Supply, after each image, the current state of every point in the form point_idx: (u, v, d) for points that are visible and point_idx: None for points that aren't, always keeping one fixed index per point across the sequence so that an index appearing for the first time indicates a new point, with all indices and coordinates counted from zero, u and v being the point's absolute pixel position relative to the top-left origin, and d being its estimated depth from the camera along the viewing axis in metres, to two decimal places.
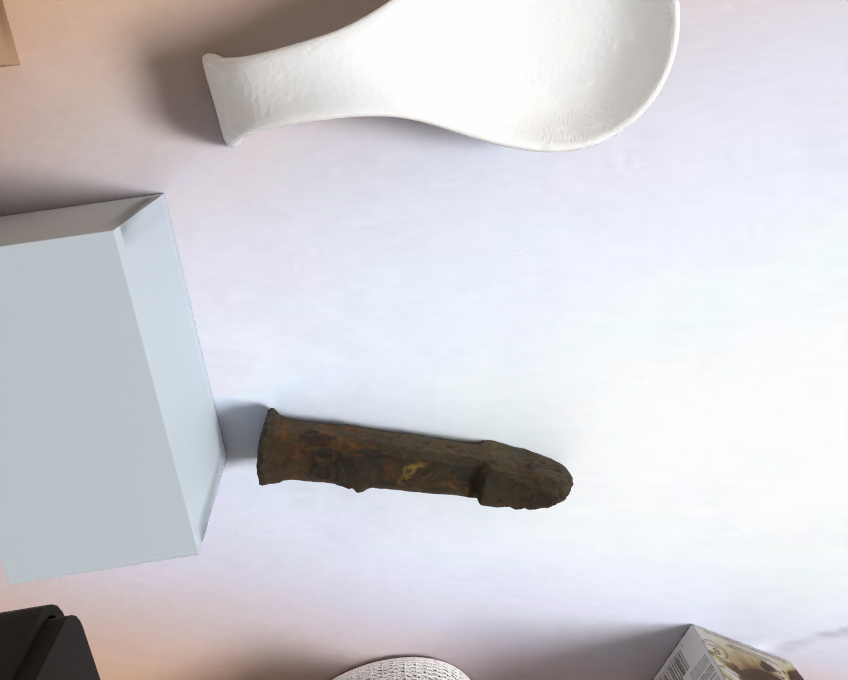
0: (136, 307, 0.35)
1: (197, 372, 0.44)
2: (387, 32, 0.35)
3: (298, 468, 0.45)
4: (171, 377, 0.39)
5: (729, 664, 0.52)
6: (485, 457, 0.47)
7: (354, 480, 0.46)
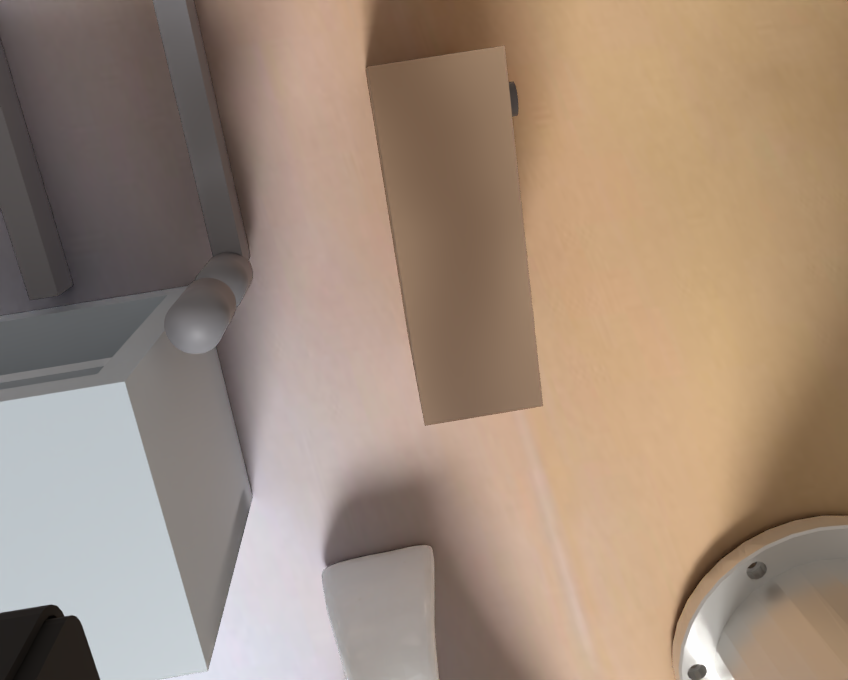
0: None
1: None
2: None
3: None
4: None
5: None
6: None
7: None
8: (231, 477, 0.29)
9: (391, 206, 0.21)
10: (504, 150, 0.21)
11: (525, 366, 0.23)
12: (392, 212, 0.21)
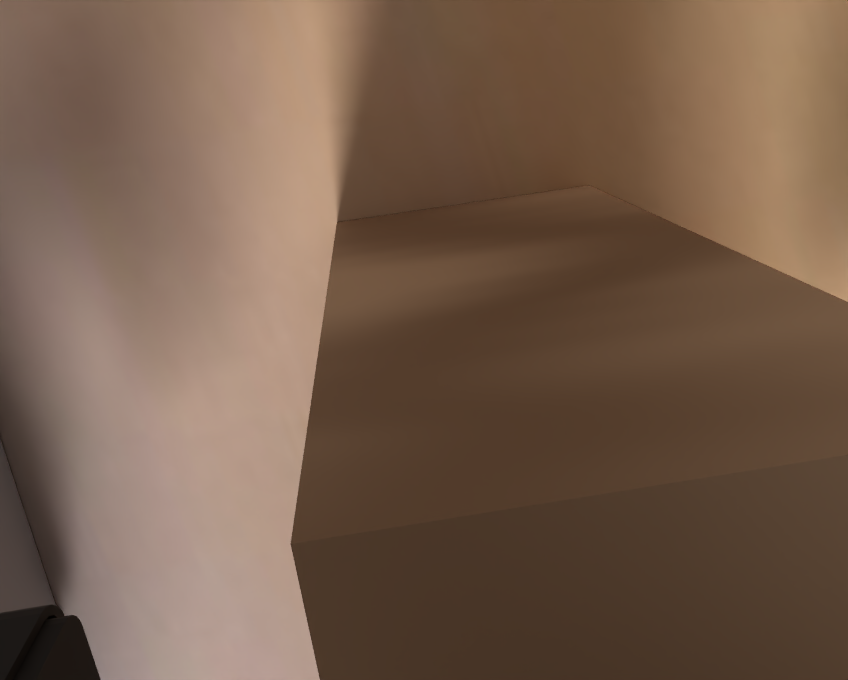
0: None
1: None
2: None
3: None
4: None
5: None
6: None
7: None
8: None
9: None
10: None
11: None
12: None
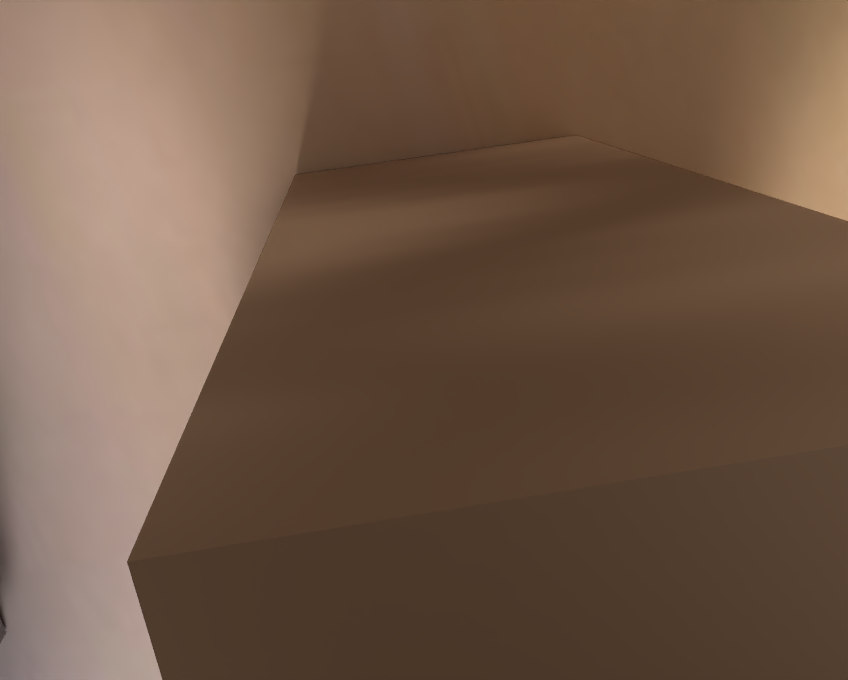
0: None
1: None
2: None
3: None
4: None
5: None
6: None
7: None
8: None
9: None
10: None
11: None
12: None
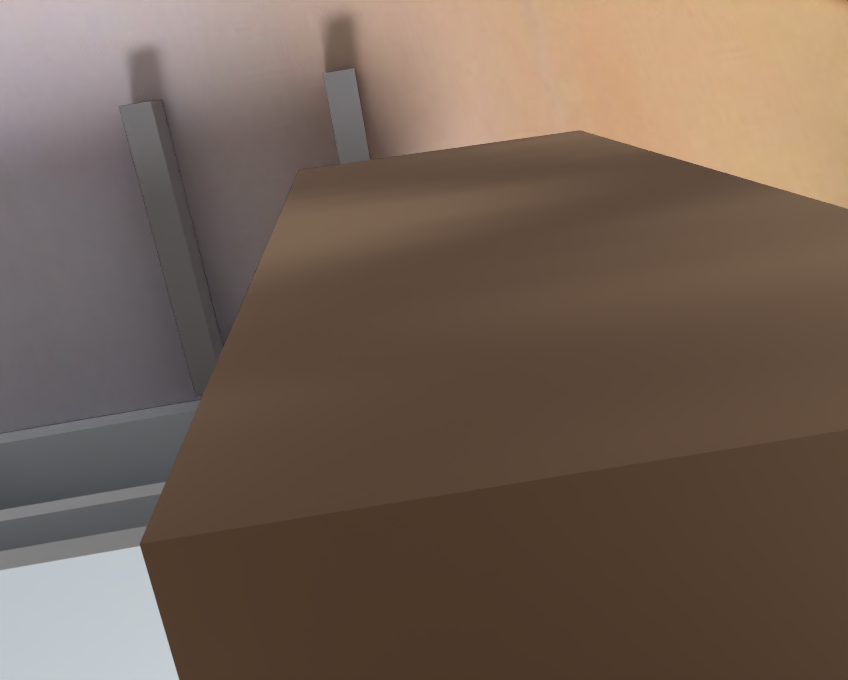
0: None
1: None
2: None
3: None
4: None
5: None
6: None
7: None
8: None
9: None
10: None
11: None
12: None
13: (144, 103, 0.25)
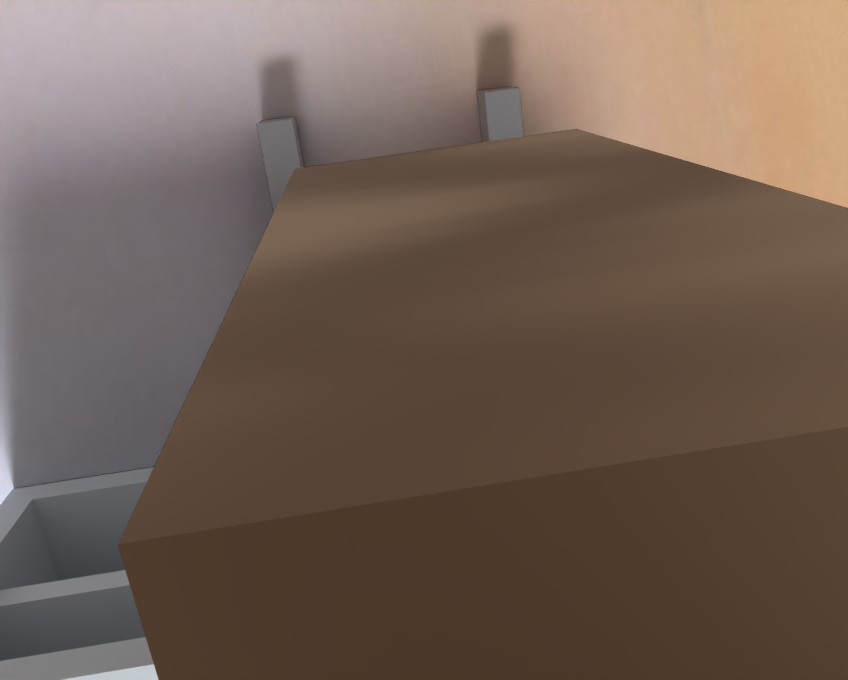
0: None
1: None
2: None
3: None
4: None
5: None
6: None
7: None
8: None
9: None
10: None
11: None
12: None
13: (285, 121, 0.22)
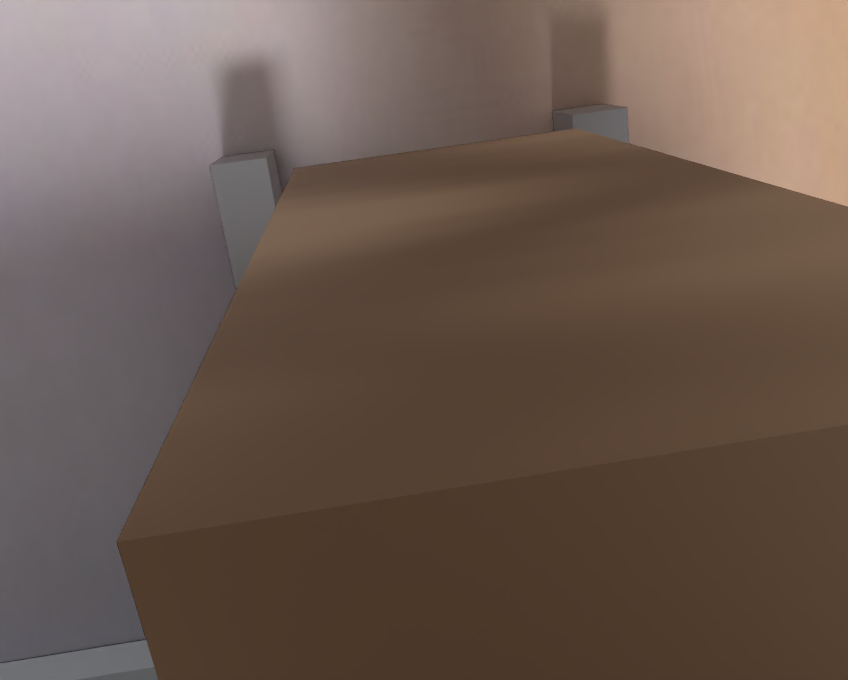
0: None
1: None
2: None
3: None
4: None
5: None
6: None
7: None
8: None
9: None
10: None
11: None
12: None
13: (255, 161, 0.14)
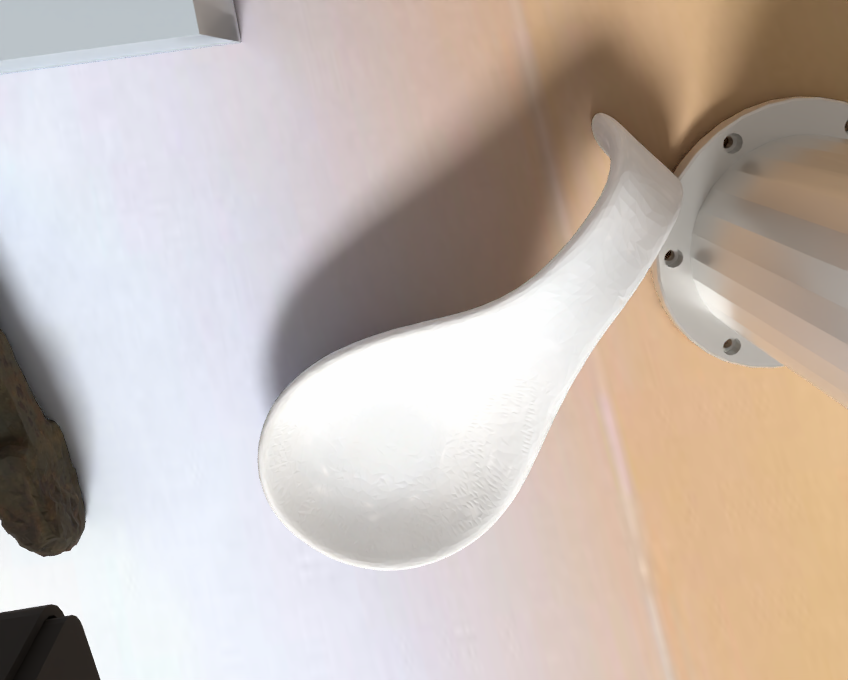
0: (82, 49, 0.24)
1: None
2: (556, 360, 0.32)
3: None
4: None
5: None
6: (33, 439, 0.35)
7: None
8: None
9: None
10: None
11: None
12: None
13: None
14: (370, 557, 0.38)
